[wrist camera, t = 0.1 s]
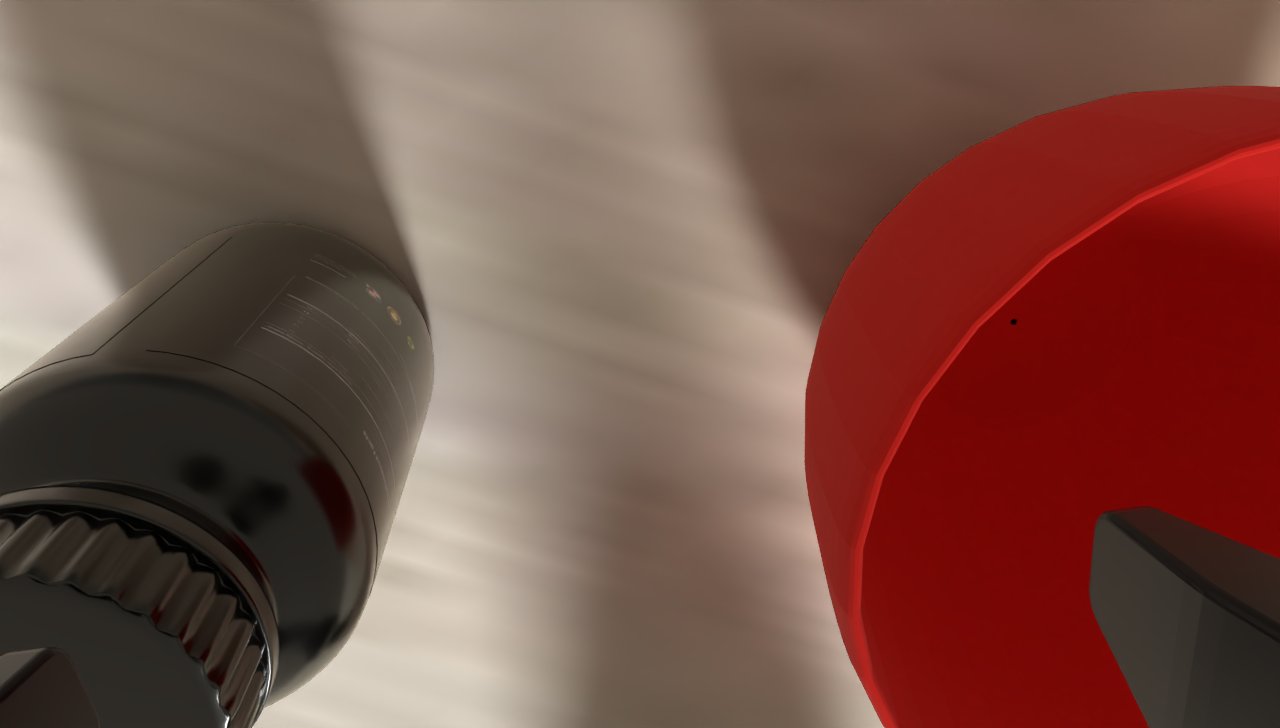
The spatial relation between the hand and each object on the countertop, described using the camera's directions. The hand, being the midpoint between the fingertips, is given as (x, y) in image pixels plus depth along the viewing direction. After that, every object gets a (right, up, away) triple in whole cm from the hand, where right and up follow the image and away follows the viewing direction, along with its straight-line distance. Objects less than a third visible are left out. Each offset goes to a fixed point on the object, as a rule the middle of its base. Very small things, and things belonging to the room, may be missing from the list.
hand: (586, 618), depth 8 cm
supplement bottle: (-8, +3, +15) cm, 17 cm away
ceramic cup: (+11, +3, +15) cm, 19 cm away
